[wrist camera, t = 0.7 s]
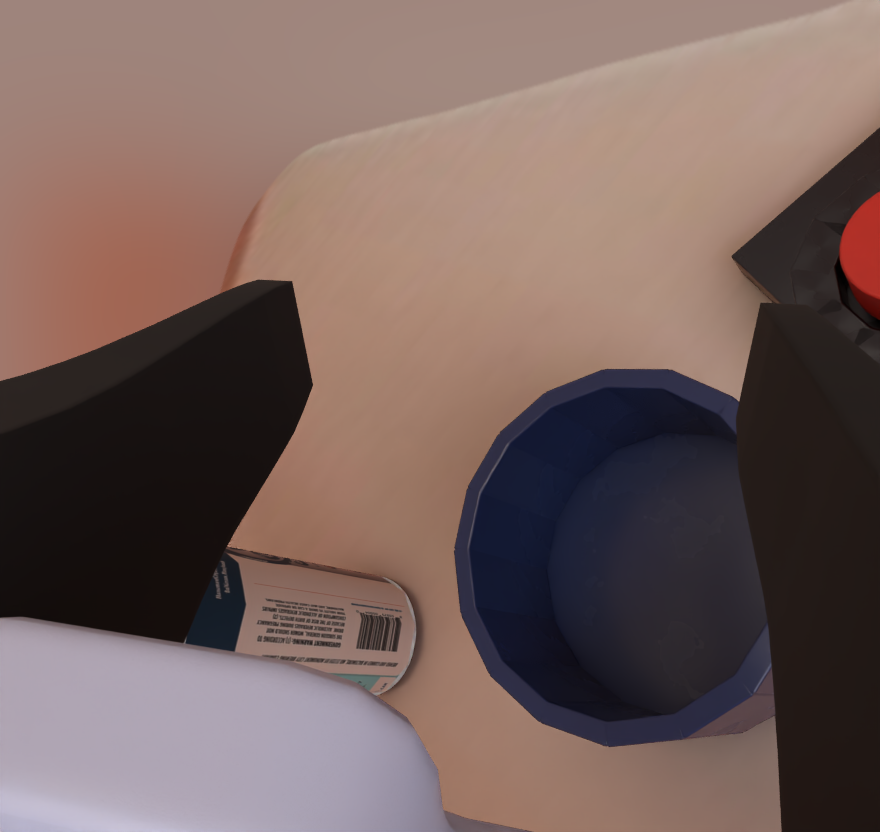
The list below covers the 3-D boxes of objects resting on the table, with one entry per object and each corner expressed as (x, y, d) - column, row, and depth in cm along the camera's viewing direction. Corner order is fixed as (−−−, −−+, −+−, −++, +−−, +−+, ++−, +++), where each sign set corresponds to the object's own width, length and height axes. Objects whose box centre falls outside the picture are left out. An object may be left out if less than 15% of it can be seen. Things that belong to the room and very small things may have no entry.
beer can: (385, 554, 32) (136, 497, 23) (444, 636, 29) (183, 607, 20) (322, 634, 33) (58, 609, 24) (372, 722, 30) (92, 730, 21)
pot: (936, 616, 20) (912, 594, 16) (640, 799, 23) (556, 820, 19) (707, 363, 26) (647, 300, 22) (497, 536, 29) (410, 510, 25)
